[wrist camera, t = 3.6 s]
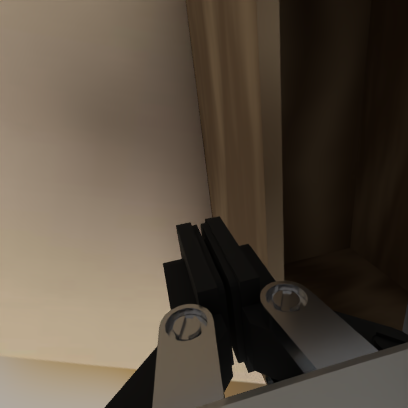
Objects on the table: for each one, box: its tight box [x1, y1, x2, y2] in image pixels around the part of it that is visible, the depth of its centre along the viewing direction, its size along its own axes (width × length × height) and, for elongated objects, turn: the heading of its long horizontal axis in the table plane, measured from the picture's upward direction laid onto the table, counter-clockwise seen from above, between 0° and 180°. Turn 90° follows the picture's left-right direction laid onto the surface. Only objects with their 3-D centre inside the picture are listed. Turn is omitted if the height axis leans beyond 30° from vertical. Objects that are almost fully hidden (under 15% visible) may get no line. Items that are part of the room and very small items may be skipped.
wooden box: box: [186, 0, 408, 385], centre depth 20 cm, size 14×24×12 cm, turn 7°
